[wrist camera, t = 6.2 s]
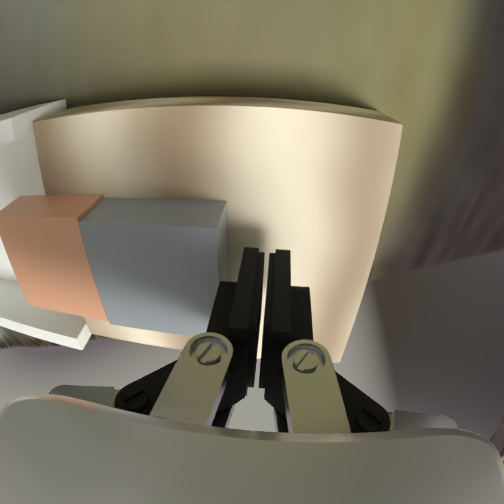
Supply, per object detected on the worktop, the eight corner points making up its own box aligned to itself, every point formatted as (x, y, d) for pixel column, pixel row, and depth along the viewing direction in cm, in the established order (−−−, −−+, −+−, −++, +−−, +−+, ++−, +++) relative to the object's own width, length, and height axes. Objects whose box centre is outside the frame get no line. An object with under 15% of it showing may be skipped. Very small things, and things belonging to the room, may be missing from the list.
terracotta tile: (103, 194, 12) (77, 217, 10) (125, 292, 14) (108, 321, 13) (20, 195, 12) (-7, 215, 10) (47, 280, 15) (28, 304, 13)
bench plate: (378, 110, 12) (402, 124, 9) (334, 322, 18) (339, 362, 16) (71, 107, 12) (32, 122, 10) (109, 300, 19) (90, 333, 17)
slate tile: (226, 201, 11) (216, 228, 10) (229, 305, 14) (221, 339, 12) (103, 198, 12) (78, 222, 10) (125, 294, 14) (109, 324, 13)
